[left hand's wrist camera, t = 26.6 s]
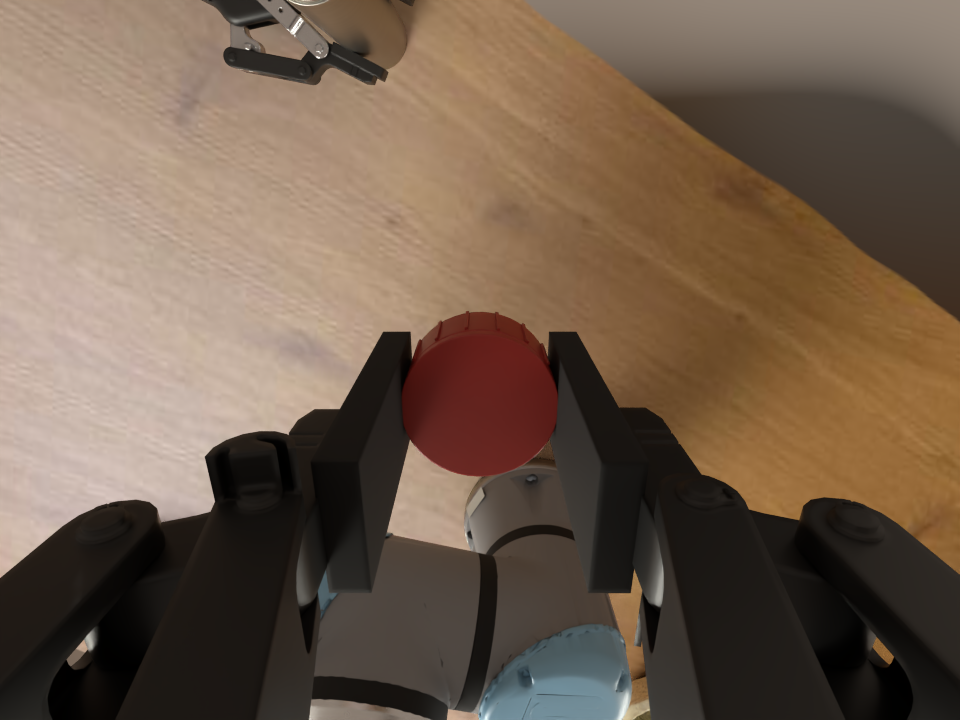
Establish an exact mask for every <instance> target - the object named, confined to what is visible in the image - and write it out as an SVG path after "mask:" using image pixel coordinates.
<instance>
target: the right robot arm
mask: <svg viewBox="0 0 960 720" xmlns="http://www.w3.org/2000/svg"><path fill="white" fill-rule="evenodd" d="M202 1H204V2H206V3H208V4H210V5H212V6H214V7H215V8H217V9H218V10H219V11H220V13H221V14H222V15H223V17H224V18H225V19H226V20H227V21H228V22H229V23H230V30H231V47H228V48H226V49H225V51H224V54H223V56H224V60H225V62H226V63H227V64H228V65H229V66H231V67H234V68H236V69H239V70H242V71H244V72H247V73H253V74H258V75H263V76H268V77H274V78H279V79H284V80H289V81H295V82H300V83H305V84H310V85H316V84H318V83H319V82H320V80H321V76H322V75H323V73H324V72H325V71H326V70H327V69H329V68H336V69H339V70H340V71H342V72H344V73H346V74H348V75H350V76H352V77H354V78H356V79H358V80H360V81H362V82H364V83H366V84H368V85H375V83H376V80H377V78H378V79H380V80H382V81H384V82H385V80H386V78H387V75H388V71H386V70H385V69H384V68H382V67H381V66H379V65H377V64H375V63H373V62H371V61H369V60H367V59H365V58H364V57H362V56H360V55H358V54H356V53H354V52H352V51H350V50H348V49H346V48H344V47H343V46H341V45H339V44H337V43H335V42H333V45H332V44H330V43H329V42H328V41H327V40H326V39H325V38H324V37H323V36H322V35H321V34H320V33H319V32H318V31H317V30H316V29H315V28H314V27H313V26H312V25H311V24H310V23H309V22H308V21H307V20H306V19H305V18H304V17H303V16H302V15H301V12H300V11H299V10H297V9H296V8H295V7H294V6H293V5H291V4H290V3H289V2H288V1H286V0H202ZM400 1H402V2H404V3H406V4H408V5H410V6H413V3H414V0H400ZM278 23H281V24H282V25H283V26H284V27H285V28H286V29H287V30H288V31H289V32H290V33H291V34H293V35H294V36H295V37H296V38H297V39H298V40H299V41H300V42H301V43H302V44H303V45H304V46H305V47H306V48H307V49H308V50H309V51H308V52H307V53H306V55H305V56H304V57H303V58H302V60H296V59H291V58H286V57H281V56H276V55H270V54H266V51H265V48H264V46H263V45H262V44H261V43H259V42H257V41H256V40H254V39H253V38H252V37H251V35H250V32H249V30H251V29H256V28H260V27H265V26H269V25H274V24H278Z"/></svg>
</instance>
